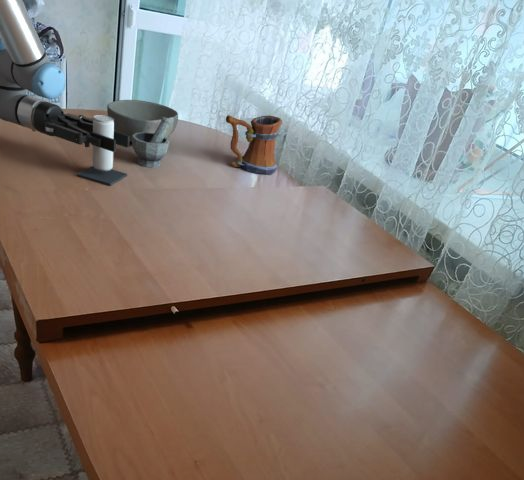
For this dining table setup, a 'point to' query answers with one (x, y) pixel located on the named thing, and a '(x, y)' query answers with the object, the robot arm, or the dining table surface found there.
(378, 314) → the dining table surface
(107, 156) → the beverage can
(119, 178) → the mat
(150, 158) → the mortar and pestle
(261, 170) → the mug
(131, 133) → the bowl
